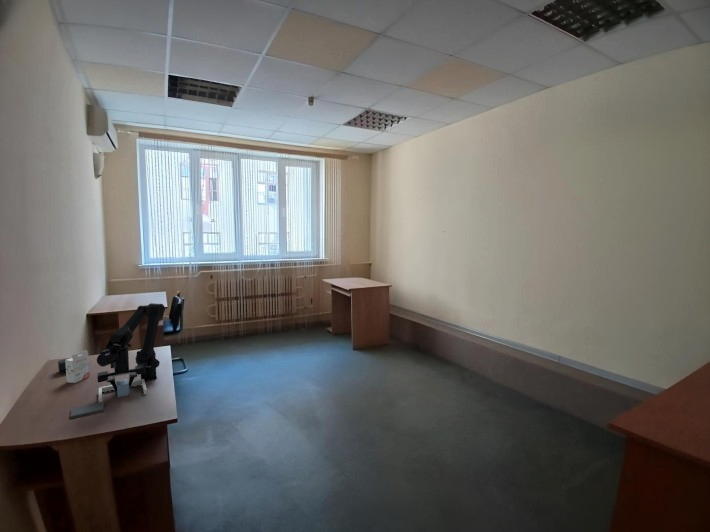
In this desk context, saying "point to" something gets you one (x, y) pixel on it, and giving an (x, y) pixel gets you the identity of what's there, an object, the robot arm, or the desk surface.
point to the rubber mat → (86, 409)
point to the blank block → (122, 387)
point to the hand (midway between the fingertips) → (122, 390)
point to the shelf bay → (110, 387)
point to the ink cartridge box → (77, 367)
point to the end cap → (62, 366)
